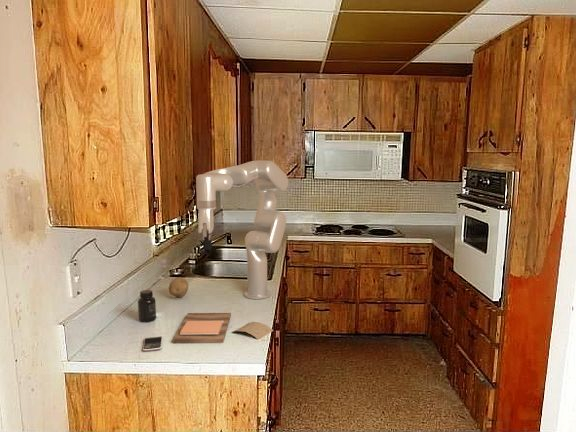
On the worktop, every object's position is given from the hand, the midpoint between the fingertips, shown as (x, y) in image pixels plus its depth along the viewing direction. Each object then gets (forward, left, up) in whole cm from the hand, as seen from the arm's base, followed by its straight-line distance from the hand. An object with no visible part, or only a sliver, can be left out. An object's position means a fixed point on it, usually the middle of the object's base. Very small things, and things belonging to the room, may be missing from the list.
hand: (207, 249), depth 176 cm
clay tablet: (+15, +19, -30) cm, 39 cm away
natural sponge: (-24, -18, -29) cm, 42 cm away
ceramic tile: (+16, 0, -26) cm, 31 cm away
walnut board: (+12, 0, -29) cm, 31 cm away
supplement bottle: (+2, -25, -29) cm, 39 cm away
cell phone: (+26, -16, -30) cm, 43 cm away
